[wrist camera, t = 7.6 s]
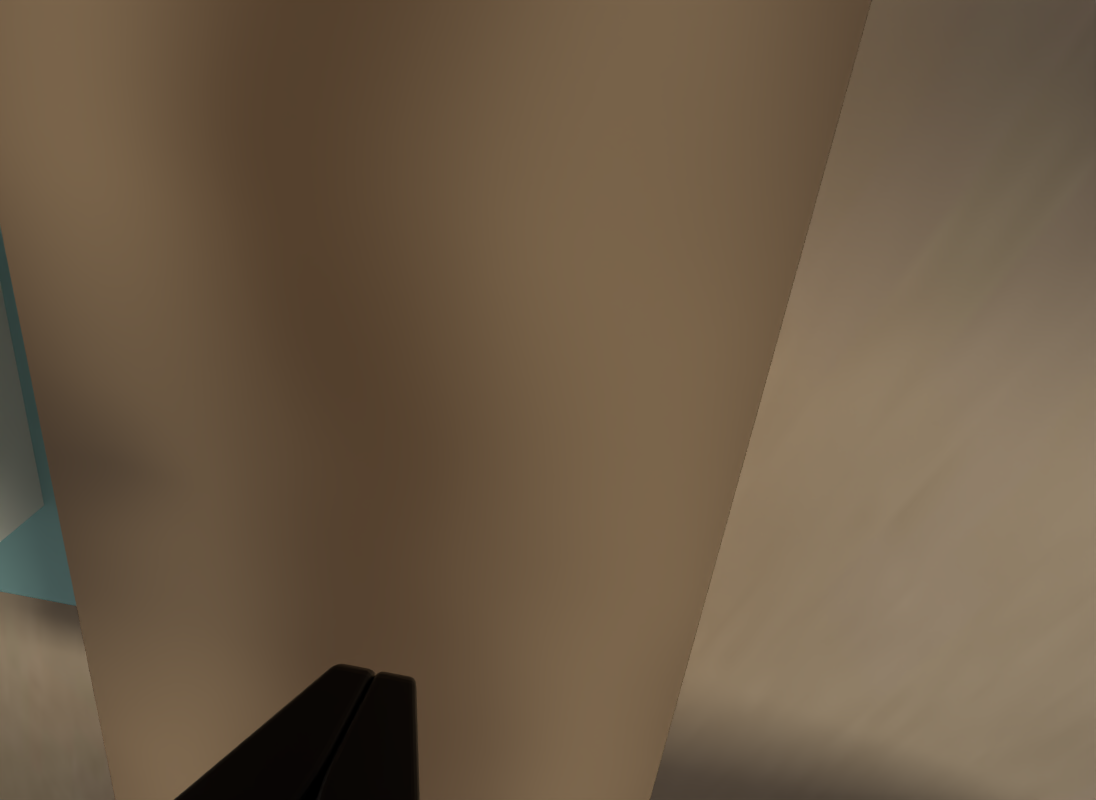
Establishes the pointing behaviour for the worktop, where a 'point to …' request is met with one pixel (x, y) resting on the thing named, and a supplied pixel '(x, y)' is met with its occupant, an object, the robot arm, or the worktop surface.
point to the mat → (37, 544)
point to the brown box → (405, 352)
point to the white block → (14, 442)
